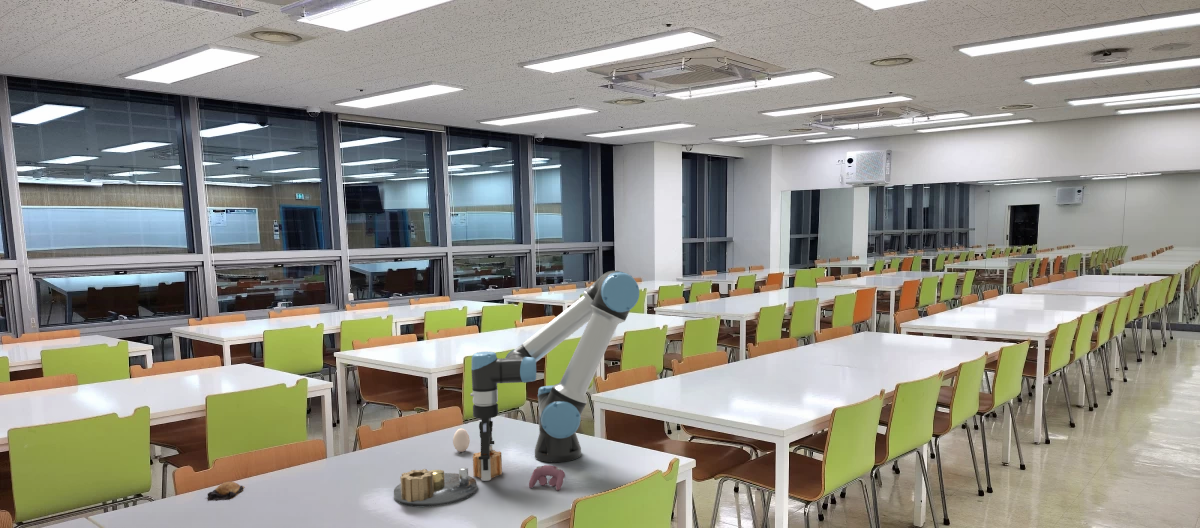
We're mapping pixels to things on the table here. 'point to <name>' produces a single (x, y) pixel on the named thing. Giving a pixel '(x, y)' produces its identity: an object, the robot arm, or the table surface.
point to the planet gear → (494, 462)
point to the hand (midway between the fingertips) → (487, 473)
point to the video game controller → (545, 471)
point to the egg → (461, 440)
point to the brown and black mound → (225, 491)
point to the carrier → (434, 487)
